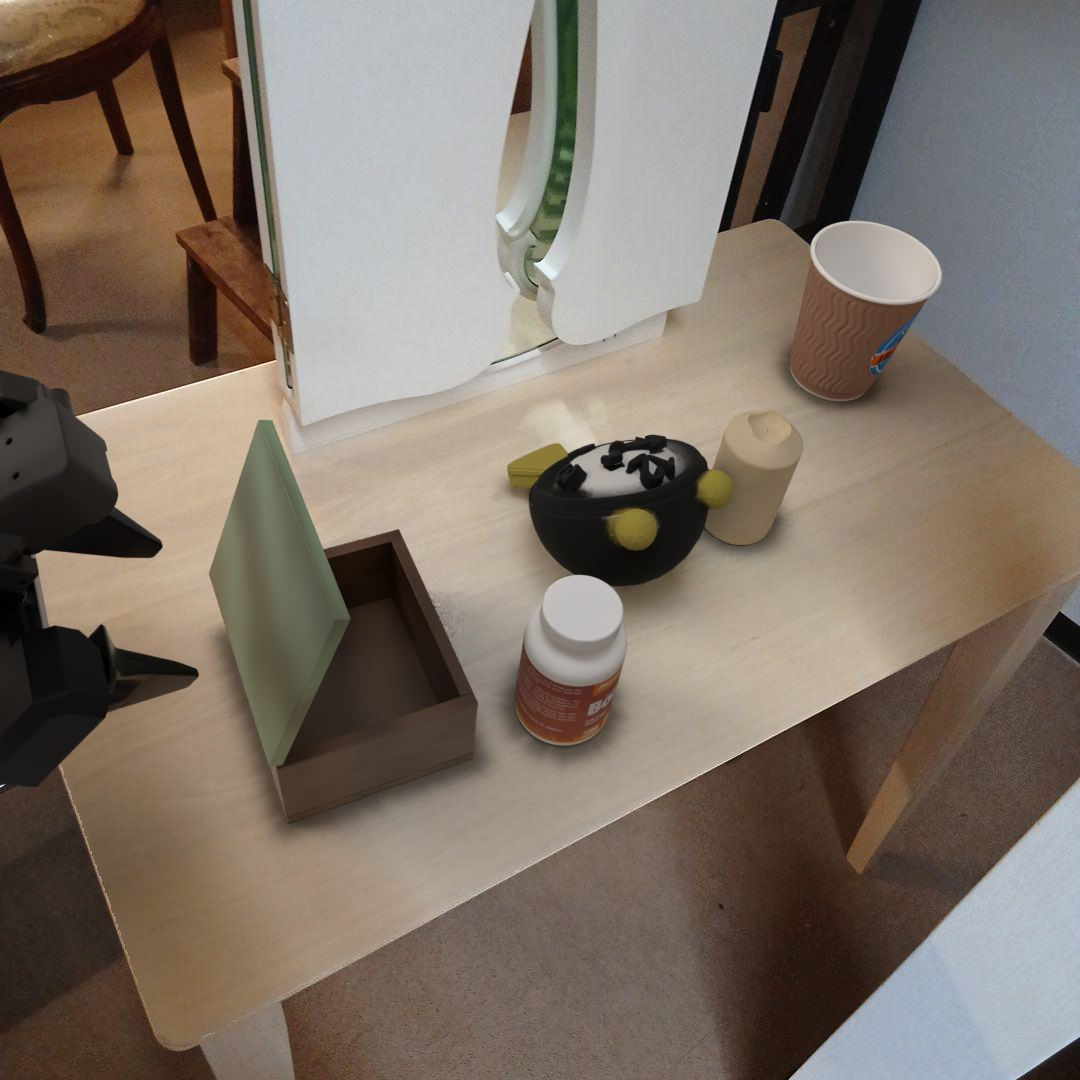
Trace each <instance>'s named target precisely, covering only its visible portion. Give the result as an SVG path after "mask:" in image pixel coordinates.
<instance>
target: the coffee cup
mask: <svg viewBox="0 0 1080 1080" xmlns="http://www.w3.org/2000/svg"><path fill="white" fill-rule="evenodd" d="M809 250H810V262H809V266H808V270H807V276H806V280H805V285H804V291H803V295H802V298H801V304H800V309H799V313H798V318H797V323H796V327H795V331H794V337H793V341H792V345H791V350H790V364H789V370H790V372H791V375H792V378H793V380H794V381H795V382H796V383H797V384H798V386H799V387H801V389H803V390H804V391H805V392H807V393H809V394H810V395H812V396H814V397H817V398H819V399H822V400H825V401H831V402H849V401H854V400H856V399H859V398H861V396H863V395H864V394H865V393H866V392H867V390H868V389H869V387H871V386H872V385H874V383H875V381H876V380H877V378H878V376H879V375H880V374H881V373H882V371H883V370H884V368H885V366H886V365H887V363H888V362H889V360H890V359H891V357H892V355H893V354H894V352H895V351H896V349H897V348H898V346H899V345H900V343H901V341H902V340H903V339H904V337H905V336H906V334H907V332H908V331H909V329H910V328H911V326H912V325H913V323H914V321H915V320H916V318H917V317H918V315H919V314H920V313H921V311H922V309H923V308H924V305H925V304H926V303H927V300H928V299H929V298H930V297H932V296H933V295H934V294H935V293H936V292H937V291H938V290H939V288H940V286H941V284H942V279H943V273H942V267H941V265H940V262H939V260H938V259H937V257H936V255H935V254H934V253H933V252H932V251H931V250H930V248H929V247H927V246H926V245H925V244H923V243H922V242H921V241H920V240H919V239H917V238H916V237H914V236H912V235H910V234H909V233H906V232H905V231H903V230H900V229H898V228H895V227H893V226H889V225H887V224H883V223H878V222H872V221H866V220H847V221H846V220H845V221H840V222H835V223H832V224H830V225H827V226H825V227H823V228H822V229H821V230H819V231H818V232H817V233H816V234H815V236H814V237H813V239H812V240H811V244H810V249H809Z"/></svg>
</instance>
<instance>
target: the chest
mask: <svg viewBox="0 0 1080 1080" xmlns="http://www.w3.org/2000/svg"><path fill="white" fill-rule="evenodd" d="M323 550H324V552H325V555H326V557H327V560H328V562H329V565H330V568H331V570H332V573H333V575H334V578H335V580H336V583H337V585H338V588H339V590H340V593H341V595H342V598H343V600H344V603H345V605H346V608H347V610H348V613H349V615H350V621H349V624H348V626H347V628H346V630H345V632H344V634H343V636H342V639H341V641H340V643H339V645H338V647H337V649H336V652H335V654H334V656H333V658H332V660H331V662H330V664H329V667H328V669H327V671H326V673H325V675H324V677H323V679H322V682H321V684H320V686H319V688H318V690H317V692H316V694H315V697H314V699H313V701H312V703H311V705H310V707H309V709H308V712H307V714H306V716H305V718H304V720H303V722H302V724H301V727H300V729H299V731H298V733H297V735H296V737H295V739H294V742H293V744H292V746H291V748H290V750H289V752H288V754H287V757H286V759H285V761H284V763H283V765H279V766H273V767H269V769H270V772H271V776H272V779H273V783H274V785H275V788H276V791H277V795H278V797H279V801H280V804H281V807H282V810H283V814H284V817H285V820H286V823H287V824H290V823H293V822H296V821H299V820H302V819H305V818H307V817H310V816H312V815H316V814H319V813H322V812H324V811H327V810H330V809H332V808H337V807H339V806H341V805H344V804H347V803H350V802H353V801H356V800H359V799H361V798H364V797H367V796H370V795H373V794H376V793H378V792H382V791H384V790H387V789H389V788H393V787H395V786H398V785H401V784H404V783H408V782H410V781H412V780H416V779H419V778H421V777H424V776H427V775H430V774H433V773H435V772H438V771H442V770H445V769H447V768H450V767H453V766H455V765H459V764H461V763H464V762H466V761H470V760H472V759H473V756H474V744H475V737H476V726H477V716H478V707H479V702H478V699H477V698H476V695H475V693H474V691H473V688H472V686H471V684H470V682H469V679H468V678H467V676H466V673H465V671H464V669H463V667H462V665H461V662H460V660H459V657H458V655H457V653H456V652H455V649H454V647H453V645H452V642H451V640H450V638H449V635H448V633H447V631H446V629H445V627H444V625H443V623H442V620H441V618H440V615H439V613H438V612H437V611H438V610H436V607H435V605H434V603H433V601H432V598H431V596H430V594H429V592H428V590H427V587H426V585H425V583H424V581H423V579H422V576H421V574H420V572H419V570H418V568H417V565H416V563H415V560H414V558H413V556H412V555H411V552H410V550H409V548H408V545H407V543H406V541H405V539H404V537H403V535H402V532H401V530H400V529H399V528H397V529H394V530H390V531H386V532H383V533H379V534H375V535H371V536H368V537H364V538H360V539H357V540H353V541H349V542H346V543H342V544H338V545H334V546H330V547H327V548H323Z"/></svg>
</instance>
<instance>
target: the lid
mask: <svg viewBox="0 0 1080 1080" xmlns="http://www.w3.org/2000/svg"><path fill="white" fill-rule="evenodd" d="M275 426H276V425H275V424H274V421H273V420H272V419H258V420H257V423H256V426H255V429H254V432H253V435H252V438H251V442H250V444H249V447H248V451H247V454H246V457H245V460H244V463H243V466H242V469H241V472H240V475H239V479H238V481H237V484H236V488H235V490H234V494H233V497H232V500H231V503H230V507H229V510H228V511H227V512H228V513H227V516H226V518H225V522H224V524H223V528H222V531H221V534H220V537H219V541H218V544H217V546H216V550H215V553H214V556H213V560H212V562H211V565H210V569H209V572H208V576H209V580H210V582H211V585H212V589H213V592H214V594H215V599H216V602H217V605H218V608H219V611H220V614H221V617H222V621H223V624H224V629H225V630H226V631H225V632H226V633H227V637H228V640H229V644H230V646H231V650H232V653H233V656H234V659H235V662H236V666H237V669H238V672H239V677H240V679H241V682H242V685H243V688H244V692H245V695H246V699H247V701H248V705H249V707H250V711H251V714H252V717H253V721H254V723H255V726H256V730H257V733H258V737H259V739H260V740H259V741H260V743H261V746H262V749H263V751H264V755H265V759H266V762H267V766H268V767H269V768H270V767H273V766H279V765H283V763H284V761H285V759H286V757H287V754H288V752H289V750H290V748H291V746H292V744H293V742H294V739H295V737H296V735H297V733H298V731H299V729H300V727H301V724H302V722H303V720H304V718H305V716H306V714H307V712H308V709H309V707H310V705H311V703H312V701H313V699H314V697H315V694H316V692H317V690H318V688H319V686H320V684H321V682H322V679H323V677H324V675H325V673H326V671H327V669H328V667H329V664H330V662H331V660H332V658H333V656H334V654H335V652H336V649H337V647H338V645H339V643H340V641H341V639H342V636H343V634H344V632H345V630H346V628H347V626H348V624H349V621H350V615H349V613H348V610H347V608H346V605H345V603H344V600H343V598H342V595H341V593H340V590H339V588H338V585H337V583H336V580H335V578H334V575H333V573H332V570H331V568H330V565H329V562H328V560H327V557H326V555H325V552H324V550H323V549H324V548H323V545H322V542H321V540H320V537H319V535H318V532H317V530H316V527H315V524H314V523H313V520H312V517H311V515H310V513H309V510H308V507H307V505H306V502H305V499H304V497H303V494H302V492H301V489H300V487H299V485H298V482H297V479H296V476H295V474H294V472H293V470H292V469H293V468H292V467H291V464H290V461H289V459H288V457H287V454H286V452H285V449H284V447H283V444H282V441H281V440H280V436H279V434H278V432H277V429H276V427H275Z"/></svg>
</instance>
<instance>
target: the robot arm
mask: <svg viewBox="0 0 1080 1080" xmlns="http://www.w3.org/2000/svg"><path fill="white" fill-rule="evenodd" d="M107 452H108V446H107V443H106V440H105V439H104V438H103V437H102V436H101V435H100V434H98V433H97V432H96V431H94V430H93V429H92V428H91V427H90V426H88V425H87V424H86V423H85V422H83V421H82V420H80V418H78V417H77V416H75V414H74V409H73V405H72V402H71V396H70V393H69V392H68V390H67V389H64V388H61V387H55V388H49V387H48V386H47V385H46V384H44V383H42V382H40V381H39V380H37V379H36V378H35V379H34V378H32V377H28V376H24V375H21V374H17V373H13V372H9V371H6V370H2V369H0V785H1V786H14V787H27V788H28V787H29V788H38V787H39V786H40V785H41V783H43V782H44V781H45V780H46V779H47V778H48V777H49V775H50V774H52V773H53V772H54V771H55V770H56V768H57V767H59V766H60V764H61V763H62V762H64V760H65V759H67V757H69V756H70V754H71V753H72V752H73V751H74V750H75V749H76V748H77V747H78V746H79V745H80V744H81V743H82V742H83V741H84V740H85V739H86V738H87V737H88V736H89V735H90V734H91V733H92V732H94V730H95V729H96V728H97V727H98V726H99V725H100V724H101V723H102V722H103V721H104V720H105V719H106V716H107V714H109V713H111V712H114V711H118V710H120V709H123V708H127V707H130V706H133V705H136V704H140V703H142V702H146V701H149V700H152V699H155V698H159V697H163V696H165V695H169V694H171V693H175V692H178V691H181V690H184V689H187V688H189V687H191V685H192V684H193V683H194V682H195V681H196V680H197V679H198V678H199V677H200V673H199V670H198V669H197V668H196V667H193V666H190V665H187V664H185V663H183V662H180V661H176V660H172V659H168V658H163V657H159V656H154V655H150V654H146V653H141V652H137V651H134V650H133V651H132V650H127V649H123V648H119V647H117V646H115V645H114V643H113V641H112V639H111V636H110V634H109V632H108V629H107V628H106V626H105V625H104V624H102V623H101V624H100V623H99V625H98V626H97V627H96V628H95V629H94V631H93V632H92V633H91V634H90V635H89V636H87V635H86V634H85V633H83V631H81V630H80V629H76V628H71V627H67V626H62V625H56V624H54V625H51V626H50V625H49V620H48V613H47V610H46V609H47V608H46V605H45V598H44V592H43V587H42V582H41V577H40V572H39V571H40V570H39V566H38V560H37V556H36V555H38V554H40V553H42V552H43V551H49V552H60V553H69V554H79V555H89V556H100V557H109V558H118V559H119V558H121V559H152V558H154V557H156V556H157V555H158V553H160V551H162V549H163V548H164V545H163V542H162V540H161V538H159V537H157V536H156V535H155V534H153V533H152V532H151V531H149V530H147V528H145V527H143V526H142V525H141V524H139V523H138V522H136V520H134V519H133V518H131V517H130V516H128V515H127V514H125V513H124V512H122V511H121V510H120V509H119V508H117V507H116V504H117V502H118V499H119V490H118V489H119V488H118V485H117V482H116V481H115V479H114V478H113V475H112V471H111V467H110V463H109V459H108V456H107Z"/></svg>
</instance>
